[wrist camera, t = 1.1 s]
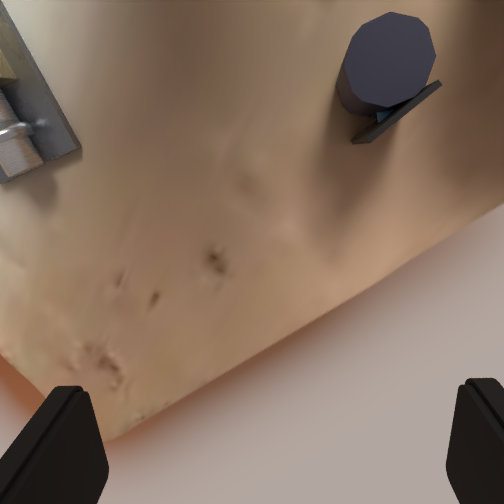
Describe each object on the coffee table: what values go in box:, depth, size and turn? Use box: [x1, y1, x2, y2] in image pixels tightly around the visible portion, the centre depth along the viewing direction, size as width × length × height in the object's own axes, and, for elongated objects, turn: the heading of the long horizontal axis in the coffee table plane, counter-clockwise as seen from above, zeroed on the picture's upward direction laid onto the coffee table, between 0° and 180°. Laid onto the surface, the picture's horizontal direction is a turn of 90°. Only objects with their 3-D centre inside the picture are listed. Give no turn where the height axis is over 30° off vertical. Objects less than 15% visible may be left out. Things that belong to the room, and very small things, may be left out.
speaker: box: [336, 12, 442, 145], centre depth 28 cm, size 8×6×10 cm
